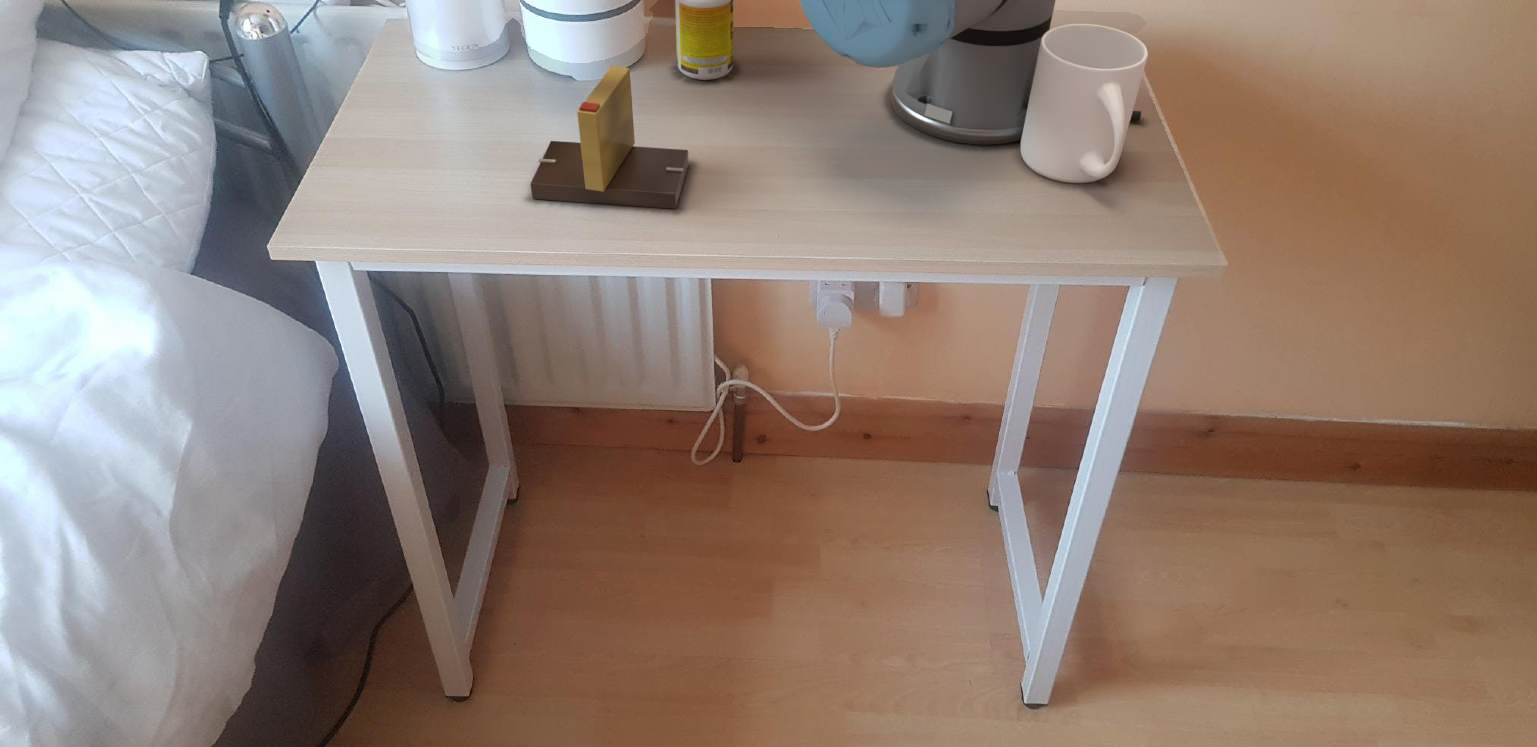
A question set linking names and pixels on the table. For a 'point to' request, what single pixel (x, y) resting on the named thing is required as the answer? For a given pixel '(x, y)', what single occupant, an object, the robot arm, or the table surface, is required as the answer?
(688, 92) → the table surface
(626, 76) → the lock turn
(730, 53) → the supplement bottle
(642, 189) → the panel
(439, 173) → the table surface
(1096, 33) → the mug
